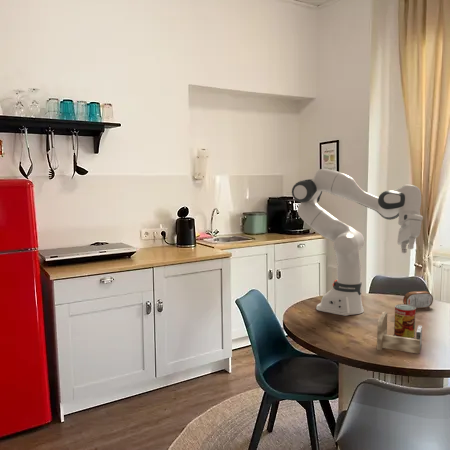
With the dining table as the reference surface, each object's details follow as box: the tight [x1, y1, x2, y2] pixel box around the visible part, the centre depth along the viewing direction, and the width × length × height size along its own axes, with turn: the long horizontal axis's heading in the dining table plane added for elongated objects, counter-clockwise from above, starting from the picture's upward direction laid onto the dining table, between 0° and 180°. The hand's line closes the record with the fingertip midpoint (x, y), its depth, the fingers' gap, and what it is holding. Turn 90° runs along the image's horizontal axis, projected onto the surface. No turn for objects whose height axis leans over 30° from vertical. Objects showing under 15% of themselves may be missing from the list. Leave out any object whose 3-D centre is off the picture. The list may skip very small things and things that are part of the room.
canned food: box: [393, 303, 417, 339], centre depth 180 cm, size 8×8×12 cm
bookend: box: [415, 325, 423, 349], centre depth 168 cm, size 1×8×7 cm, turn 152°
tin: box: [402, 290, 434, 310], centre depth 216 cm, size 15×3×8 cm, turn 100°
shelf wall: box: [376, 310, 421, 354], centre depth 168 cm, size 14×14×11 cm
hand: (407, 250), depth 190 cm, fingers open, 8 cm apart
